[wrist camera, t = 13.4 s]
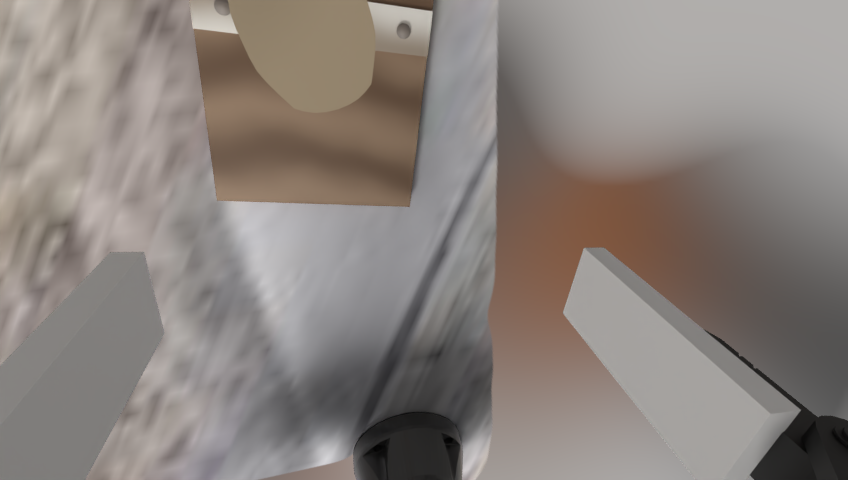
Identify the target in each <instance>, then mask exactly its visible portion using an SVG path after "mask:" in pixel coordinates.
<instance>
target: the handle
mask: <svg viewBox="0 0 848 480" xmlns="http://www.w3.org/2000/svg"><path fill="white" fill-rule="evenodd" d="M228 3H229V9H230V14H231V17H232V19H233V22H234V25H235V28H236V30H237V32H238V34H239V37H240V39H241V41H242V43H243V45H244V47H245V50H246V52H247V54H248V56H249V58H250V60H251V62H252V63H253V65H254V67H255V69H256V70H257V72H258V73H259V74H260V75H261V77H262V78H263V79H264V80H265V81H266V82H267V83H268V84H269V85H270V86H271V87H272V88H273V89H274V90H275V91H276V92H277V93H278V94H279V95H280V96H281V97H282V98H283V99H284V100H285V101H286V102H288V103H289V104H290V105H291V106H292V107H293V108H294V109H297V110H301V111H304V112H311V113H321V112H329V111H333V110H337V109H340V108H342V107H345V106H347V105H349V104H351V103H353V102H354V101H356V100H357V99H359V98H360V97H361V96H362V95H363V94H364V93H365V92H366V91H367V89H368V88H369V86H370V85H371V83H372V75H373V67H374V58H375V48H376V46H375V29H374V24H373V19H372V15H371V12H370V8H369V5H368V2H367V0H228Z"/></svg>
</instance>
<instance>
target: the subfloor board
mask: <svg viewBox="0 0 848 480" xmlns="http://www.w3.org/2000/svg"><path fill="white" fill-rule="evenodd" d="M433 1H434V0H367V2H368V5H369V8H370V12H371V15H372V19H373V24H374V29H375V46H376V48H375V58H374V67H373V75H372V83H371V85H370V86H369V88H368V89H367V91H366V92H365V93H364V94H363V95H362V96H361V97H360V98H359V99H357V100H356V101H354V102H353V103H351V104H349V105H347V106H345V107H342V108H340V109H337V110H333V111H329V112H321V113H311V112H304V111H301V110H297V109H294V108H293V107H292V106H291V105H290V104H289V103H288V102H286V101H285V100H284V99H283V98H282V97H281V96H280V95H279V94H278V93H277V92H276V91H275V90H274V89H273V88H272V87H271V86H270V85H269V84H268V83H267V82H266V81H265V80H264V79H263V78H262V77H261V75H260V74H259V73H258V72H257V70H256V69H255V67H254V65H253V63H252V62H251V60H250V58H249V56H248V54H247V52H246V50H245V47H244V45H243V43H242V41H241V39H240V37H239V34H238V32H237V30H236V28H235V25H234V22H233V19H232V17H231V14H230V9H229V3H228V0H189V4H190V11H191V18H192V26H193V28H194V34H195V41H196V48H197V56H198V63H199V70H200V78H201V85H202V93H203V100H204V107H205V115H206V122H207V129H208V137H209V144H210V152H211V159H212V166H213V174H214V181H215V188H216V196H217V200H218V201H249V202H280V203H310V204H341V205H372V206H402V207H410V199H411V190H412V182H413V173H414V164H415V156H416V147H417V139H418V130H419V121H420V113H421V104H422V96H423V87H424V78H425V70H426V61H427V57H428V49H429V40H430V32H431V23H432V15H433V11H432V10H433Z"/></svg>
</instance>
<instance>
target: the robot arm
mask: <svg viewBox="0 0 848 480" xmlns="http://www.w3.org/2000/svg"><path fill="white" fill-rule="evenodd" d="M563 314H564V315H565V317H566V318H567V319H568V320H569V321H570V323H571V324H572V325H573V327H574V328H575V329H576V330H577V332H578V333H579V334H580V335H581V337H582V338H583V339H584V340H585V342H586V343H587V344H588V345H589V347H590V348H591V349H592V350H593V352H594V353H595V354H596V355H597V357H598V358H599V359H600V360H601V362H602V363H603V364H604V365H605V367H606V368H607V369H608V371H609V372H610V373H611V374H612V376H613V377H614V378H615V379H616V381H617V382H618V383H619V384H620V386H621V387H622V388H623V389H624V391H625V392H626V393H627V394H628V396H629V397H630V398H631V399H632V401H633V402H634V403H635V404H636V406H637V407H638V408H639V409H640V411H641V412H642V413H643V414H644V416H645V417H646V418H647V419H648V421H649V422H650V423H651V424H652V426H653V427H654V428H655V429H656V431H657V432H658V433H659V435H660V436H661V437H662V438H663V440H664V441H665V442H666V443H667V445H668V446H669V447H670V448H671V450H672V451H673V452H674V453H675V454H676V456H677V457H678V458H679V460H680V461H681V462H682V463H683V465H684V466H685V467H686V468H687V470H688V471H689V472H690V473H691V475H692V476H693V477H694V478H695V480H747V479H748V478H749V476H751V477H752V478H753V479H754V480H848V421H847V420H845V419H841V418H837V417H833V416H820V417H819V418H818V417H817V416H816V415H814V414H813V413H812V412H810V411H809V410H808V409H807V408H805V407H804V406H803V405H802V404H800V403H799V402H798V401H797V400H795V399H794V398H793V397H792V396H791V395H789V394H788V393H787V392H786V391H784V390H783V389H782V388H781V387H779V386H778V385H777V384H776V383H774V382H773V381H772V380H771V379H770V378H768V377H767V376H766V375H765V374H763V373H762V372H761V371H760V370H758V369H754V368H753V365H752V364H751V363H750V362H748V361H747V360H746V359H745V358H744V357H742V356H739V355H738V352H736V351H735V350H734V349H732V348H731V347H730V346H729V345H728V344H726V343H725V342H724V341H722V340H721V339H720V338H718V337H716V336H715V335H713V334H711V333H709V332H707V331H706V330H704V329H702V328H701V327H700V326H698V325H697V324H696V323H695V322H693V321H692V320H691V319H690V318H689V317H687V316H686V315H685V314H684V313H683V312H681V311H680V310H679V309H678V308H677V307H675V306H674V305H673V304H672V303H671V302H669V301H668V300H667V299H666V298H664V297H663V296H662V295H661V294H660V293H658V292H657V291H656V290H654V289H653V288H652V287H651V286H650V285H649V284H647V283H646V282H645V281H644V280H643V279H641V278H640V277H639V276H638V275H636V274H635V273H634V272H633V271H632V270H630V269H629V268H628V267H627V266H626V265H624V264H623V263H622V262H621V261H620V260H618V259H617V258H616V257H615V256H613V255H612V254H611V253H610V252H609V251H607V250H606V249H605V248H584V250H583V253H582V256H581V259H580V262H579V265H578V268H577V271H576V274H575V277H574V280H573V283H572V287H571V290H570V293H569V296H568V299H567V302H566V305H565V308H564V311H563ZM163 335H164V329H163V325H162V321H161V317H160V313H159V309H158V305H157V301H156V297H155V294H154V290H153V286H152V282H151V278H150V274H149V270H148V266H147V262H146V258H145V254H144V252H110V253H109V254H108V255H107V257H106V258H105V259H104V260H103V261H102V262H101V263H100V264H99V265H98V266H97V267H96V268H95V269H94V270H93V271H92V272H91V273H90V274H89V275H88V276H87V277H86V278H85V279H84V280H83V281H82V282H81V283H80V284H79V285H78V286H77V287H76V288H75V289H74V290H73V291H72V293H71V294H70V295H69V296H68V297H67V298H66V299H65V300H64V301H63V302H62V303H61V304H60V305H59V306H58V307H57V308H56V309H55V310H54V311H53V312H52V313H51V314H50V315H49V316H48V317H47V318H46V319H45V320H44V321H43V322H42V323H41V324H40V325H39V326H38V328H37V329H36V330H35V331H34V332H33V333H32V334H31V335H30V336H29V337H28V338H27V339H26V340H25V341H24V342H23V343H22V344H21V345H20V346H19V347H18V348H17V349H16V350H15V351H14V352H13V353H12V354H11V355H10V356H9V357H8V358H7V359H6V360H5V361H4V362H3V364H2V365H1V366H0V480H85V479H86V477H87V475H88V473H89V471H90V469H91V468H92V466H93V464H94V462H95V460H96V458H97V457H98V455H99V453H100V451H101V449H102V447H103V446H104V444H105V442H106V440H107V438H108V436H109V434H110V433H111V431H112V429H113V427H114V425H115V423H116V422H117V420H118V418H119V416H120V414H121V412H122V411H123V409H124V407H125V405H126V403H127V401H128V400H129V398H130V396H131V394H132V392H133V390H134V388H135V387H136V385H137V383H138V381H139V379H140V377H141V376H142V374H143V372H144V370H145V368H146V366H147V365H148V363H149V361H150V359H151V357H152V355H153V353H154V352H155V350H156V348H157V346H158V344H159V342H160V341H161V339H162V337H163ZM353 462H354V474H355V477H356V480H462V464H463V448H462V443H461V440H460V436H459V433H458V430H457V428H456V426H455V425H454V424H453V423H452V422H451V421H450V420H448V419H446V418H444V417H442V416H439V415H436V414H430V413H410V414H404V415H399V416H396V417H393V418H390V419H387V420H385V421H383V422H381V423H379V424H377V425H375V426H374V427H372V428H371V429H369V430H368V431H367V432H366V433H365V434H364V435H363V436H362V437H361V438H360V439H359V441H358V442H357V444H356V446H355V448H354V453H353Z"/></svg>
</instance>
